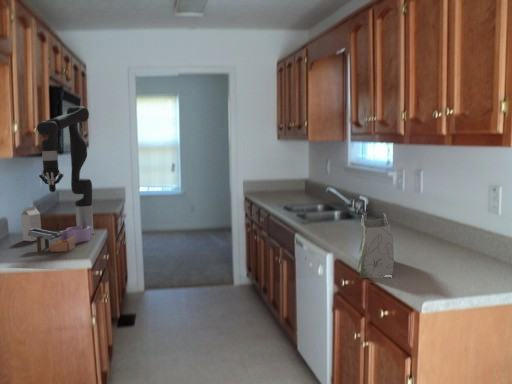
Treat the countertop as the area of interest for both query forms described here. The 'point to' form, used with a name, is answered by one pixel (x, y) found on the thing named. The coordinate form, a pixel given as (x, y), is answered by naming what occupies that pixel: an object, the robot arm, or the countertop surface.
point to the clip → (77, 233)
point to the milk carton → (30, 222)
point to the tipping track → (43, 234)
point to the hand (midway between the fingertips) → (52, 191)
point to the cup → (63, 245)
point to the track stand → (40, 244)
